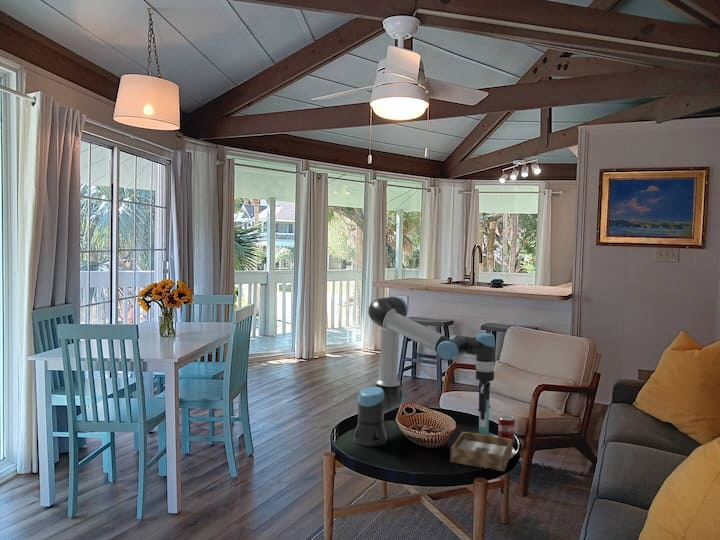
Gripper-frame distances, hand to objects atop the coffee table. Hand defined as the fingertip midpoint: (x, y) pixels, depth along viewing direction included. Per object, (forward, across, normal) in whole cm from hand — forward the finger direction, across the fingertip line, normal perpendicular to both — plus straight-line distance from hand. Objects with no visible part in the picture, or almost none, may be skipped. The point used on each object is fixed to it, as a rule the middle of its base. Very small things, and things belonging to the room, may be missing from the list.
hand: (483, 424), depth 236 cm
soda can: (+14, +21, -6) cm, 26 cm away
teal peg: (+3, 0, 0) cm, 3 cm away
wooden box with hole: (+14, 0, 0) cm, 14 cm away
